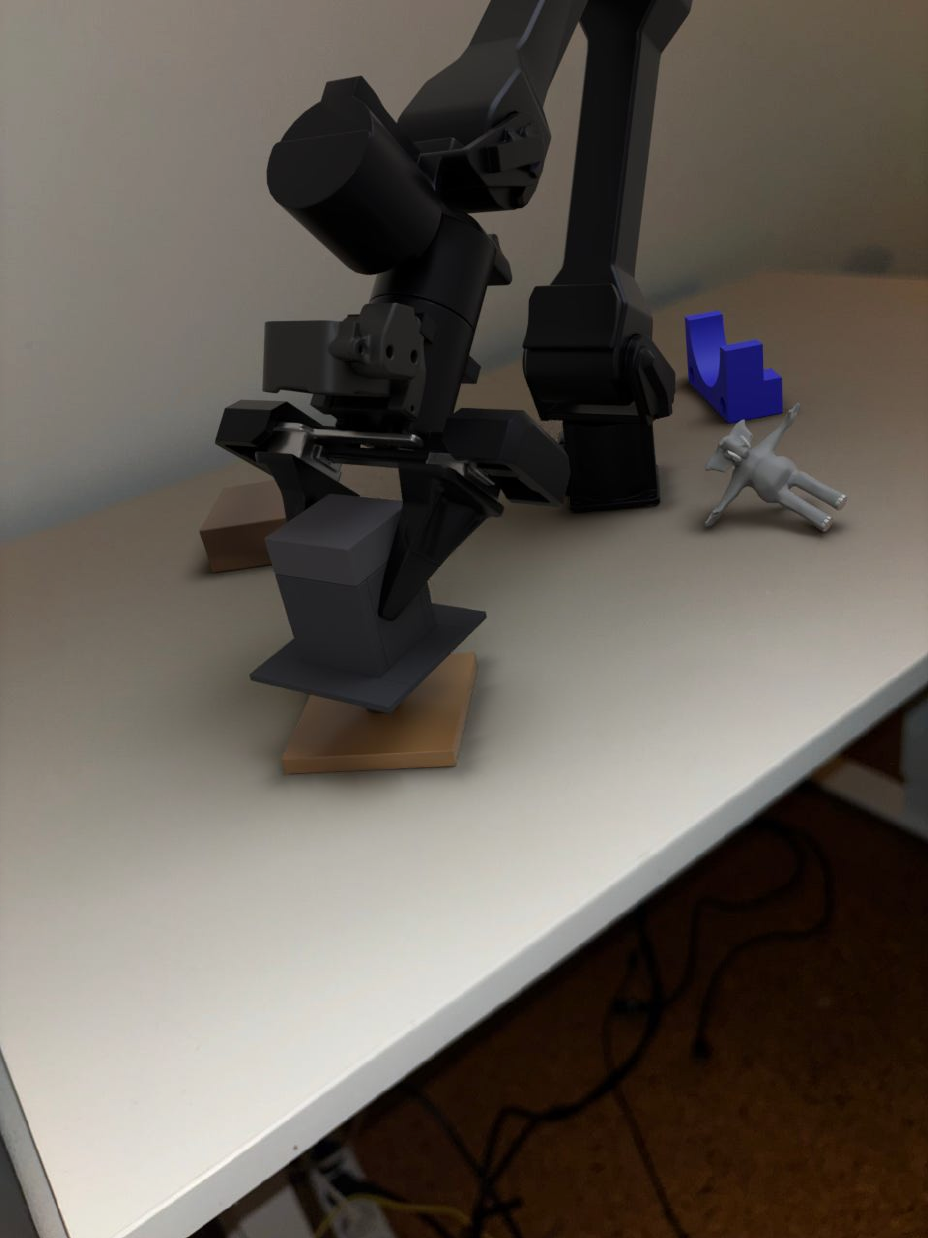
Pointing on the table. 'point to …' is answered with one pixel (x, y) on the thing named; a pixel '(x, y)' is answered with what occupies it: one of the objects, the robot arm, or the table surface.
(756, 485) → the elephant figurine
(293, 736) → the hat stand
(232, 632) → the table surface
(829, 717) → the table surface
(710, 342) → the blue cradle bracket
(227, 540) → the hat block
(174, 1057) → the table surface
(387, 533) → the hat
